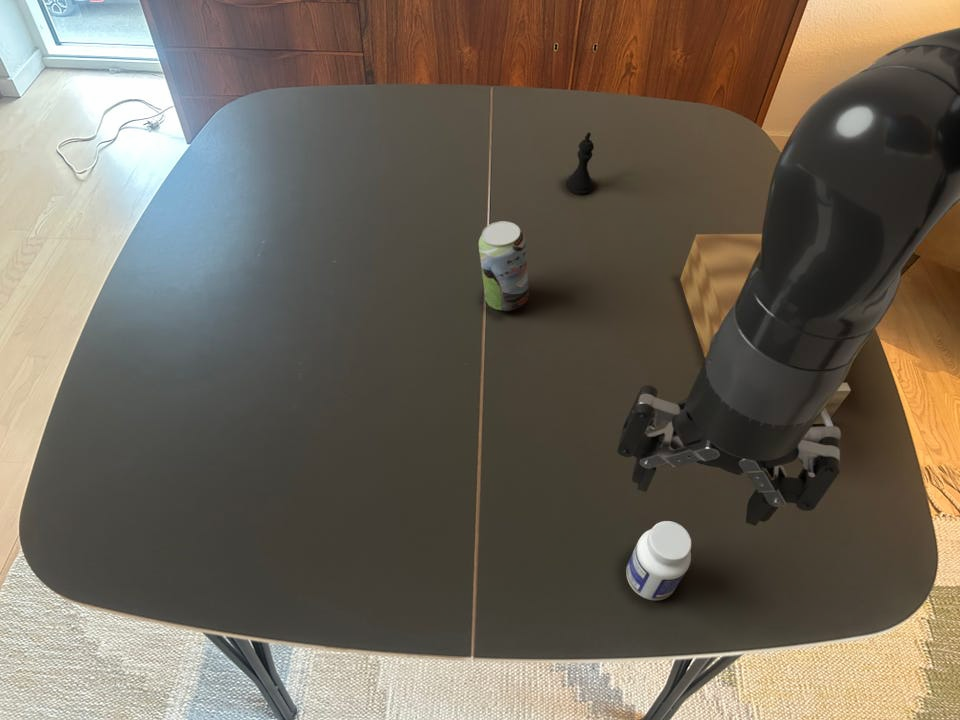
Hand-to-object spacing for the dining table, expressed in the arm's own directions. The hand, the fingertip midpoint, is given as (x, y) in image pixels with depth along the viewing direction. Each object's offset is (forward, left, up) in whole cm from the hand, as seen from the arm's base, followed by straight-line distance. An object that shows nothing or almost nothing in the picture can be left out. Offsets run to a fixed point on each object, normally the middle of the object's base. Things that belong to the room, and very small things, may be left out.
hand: (696, 497), depth 56 cm
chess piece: (+50, -45, -22) cm, 71 cm away
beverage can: (+40, -18, -22) cm, 49 cm away
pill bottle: (+1, -2, -22) cm, 22 cm away
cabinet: (+16, -40, -21) cm, 48 cm away
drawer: (+5, -32, -20) cm, 38 cm away
